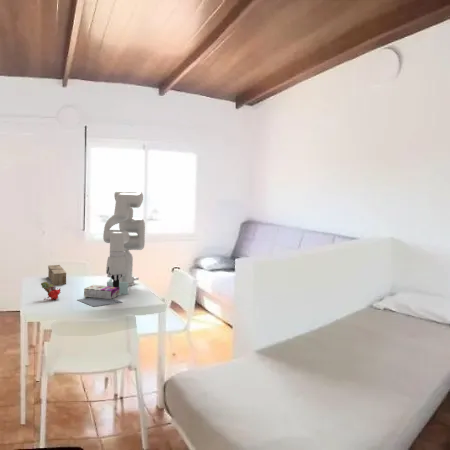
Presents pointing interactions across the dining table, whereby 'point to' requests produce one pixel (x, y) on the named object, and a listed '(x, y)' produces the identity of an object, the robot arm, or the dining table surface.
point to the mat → (98, 301)
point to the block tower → (57, 274)
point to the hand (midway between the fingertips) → (116, 287)
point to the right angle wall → (122, 286)
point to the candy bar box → (101, 291)
